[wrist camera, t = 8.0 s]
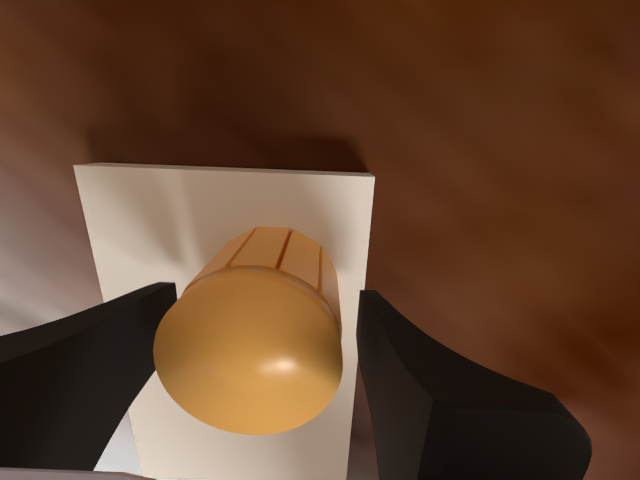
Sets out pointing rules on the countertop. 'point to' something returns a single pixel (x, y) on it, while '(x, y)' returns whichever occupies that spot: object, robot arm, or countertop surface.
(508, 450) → the robot arm
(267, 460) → the mounting plate
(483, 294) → the countertop surface
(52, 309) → the countertop surface
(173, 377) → the cupcake
